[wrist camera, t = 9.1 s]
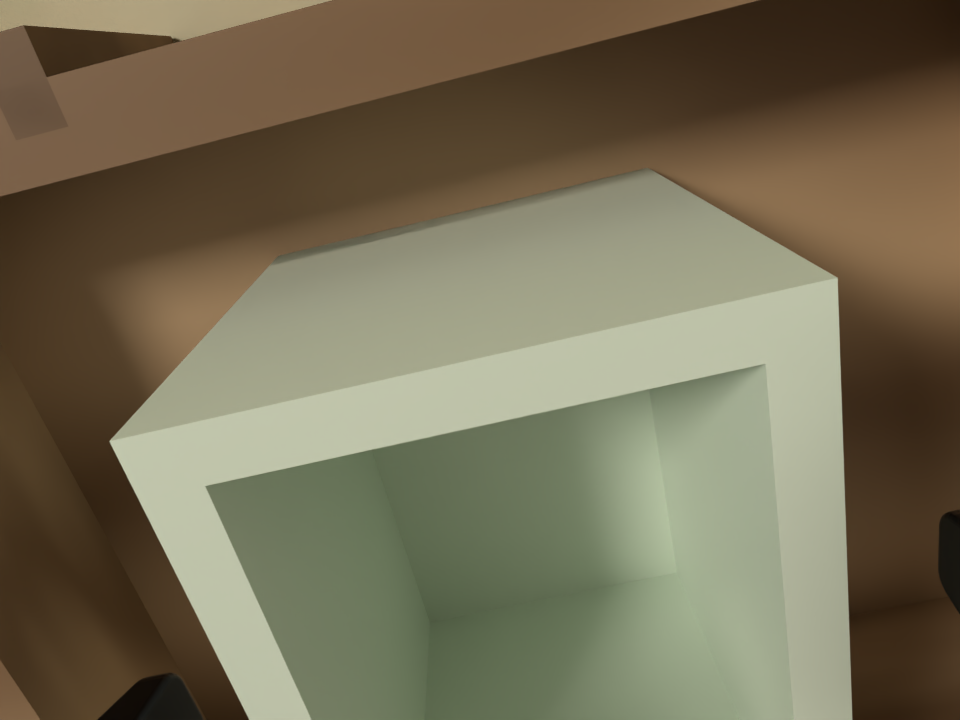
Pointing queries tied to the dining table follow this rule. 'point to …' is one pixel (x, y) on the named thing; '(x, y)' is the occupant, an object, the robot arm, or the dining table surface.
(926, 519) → the crate
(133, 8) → the dining table surface
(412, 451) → the small crate
